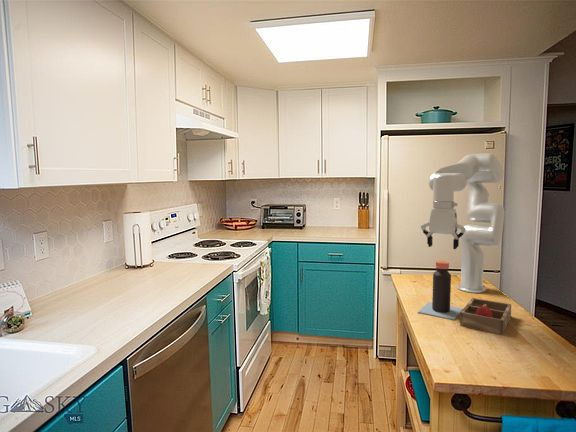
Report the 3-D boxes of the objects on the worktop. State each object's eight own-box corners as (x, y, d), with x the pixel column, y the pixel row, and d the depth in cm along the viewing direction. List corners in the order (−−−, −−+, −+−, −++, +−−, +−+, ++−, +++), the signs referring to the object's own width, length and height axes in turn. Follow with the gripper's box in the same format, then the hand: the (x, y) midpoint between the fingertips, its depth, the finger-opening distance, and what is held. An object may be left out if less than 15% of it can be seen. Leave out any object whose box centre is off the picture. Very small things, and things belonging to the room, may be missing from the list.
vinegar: (429, 307, 159) (431, 260, 157) (446, 306, 159) (447, 260, 157) (435, 313, 152) (436, 264, 150) (452, 312, 152) (454, 264, 150)
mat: (428, 303, 165) (428, 302, 165) (462, 309, 157) (463, 308, 157) (417, 312, 154) (418, 311, 154) (454, 320, 146) (454, 319, 146)
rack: (471, 309, 157) (472, 297, 156) (510, 316, 148) (511, 304, 148) (460, 325, 141) (460, 312, 140) (502, 334, 133) (503, 320, 132)
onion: (484, 329, 137) (485, 308, 136) (471, 323, 142) (472, 303, 141) (496, 326, 139) (496, 305, 138) (482, 321, 144) (483, 300, 144)
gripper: (468, 205, 149) (467, 247, 151) (424, 203, 159) (423, 243, 161) (464, 207, 143) (463, 251, 145) (418, 205, 153) (418, 247, 155)
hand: (442, 247), depth 153 cm, fingers open, 9 cm apart
